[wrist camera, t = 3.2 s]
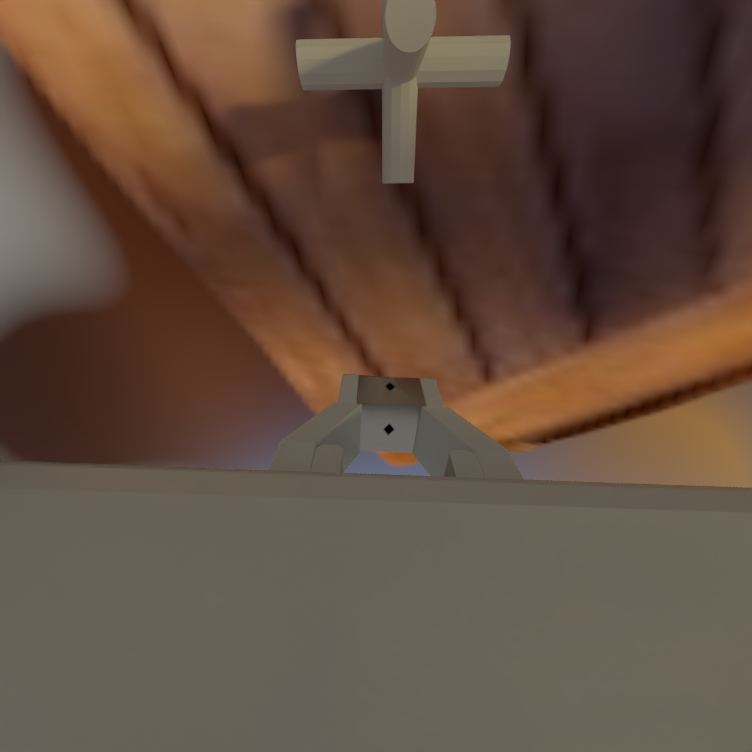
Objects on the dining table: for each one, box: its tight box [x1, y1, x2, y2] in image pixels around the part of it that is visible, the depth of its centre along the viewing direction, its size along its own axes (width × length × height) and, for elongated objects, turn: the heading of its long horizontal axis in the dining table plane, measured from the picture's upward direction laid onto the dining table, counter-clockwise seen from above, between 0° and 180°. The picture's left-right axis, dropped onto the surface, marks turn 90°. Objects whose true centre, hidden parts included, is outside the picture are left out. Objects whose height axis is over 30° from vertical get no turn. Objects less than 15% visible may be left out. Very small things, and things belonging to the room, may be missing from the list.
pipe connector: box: [296, 0, 511, 183], centre depth 15 cm, size 10×10×10 cm
